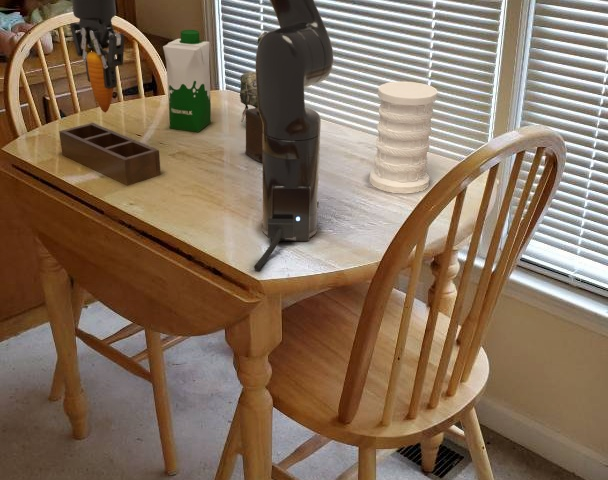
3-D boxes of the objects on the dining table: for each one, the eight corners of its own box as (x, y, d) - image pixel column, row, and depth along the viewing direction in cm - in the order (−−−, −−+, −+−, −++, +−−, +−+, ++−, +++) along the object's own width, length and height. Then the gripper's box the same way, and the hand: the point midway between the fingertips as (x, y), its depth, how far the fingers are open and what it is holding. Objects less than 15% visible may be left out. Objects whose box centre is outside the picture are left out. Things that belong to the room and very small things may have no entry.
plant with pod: (231, 123, 185) (229, 32, 174) (275, 117, 189) (276, 28, 179) (246, 134, 179) (245, 40, 168) (291, 127, 183) (293, 36, 173)
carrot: (110, 107, 158) (102, 27, 150) (123, 113, 155) (115, 32, 147) (87, 111, 156) (77, 30, 148) (99, 118, 152) (90, 35, 144)
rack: (127, 185, 152) (124, 160, 150) (62, 154, 165) (58, 131, 162) (160, 174, 157) (159, 150, 155) (95, 145, 170) (92, 122, 167)
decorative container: (438, 179, 159) (449, 87, 150) (414, 198, 151) (424, 102, 141) (385, 166, 164) (392, 77, 155) (359, 184, 156) (365, 91, 146)
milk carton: (215, 122, 185) (213, 31, 174) (200, 134, 178) (196, 40, 167) (180, 117, 187) (175, 27, 176) (163, 129, 180) (157, 36, 169)
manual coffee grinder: (241, 154, 168) (240, 66, 158) (283, 144, 174) (285, 59, 164) (286, 177, 158) (288, 85, 148) (330, 166, 164) (334, 76, 154)
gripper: (51, -15, 145) (63, 80, 154) (97, -4, 137) (108, 96, 146) (87, -20, 150) (97, 73, 159) (133, -9, 142) (141, 89, 151)
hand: (102, 84), depth 152 cm, fingers closed on carrot, 5 cm apart
